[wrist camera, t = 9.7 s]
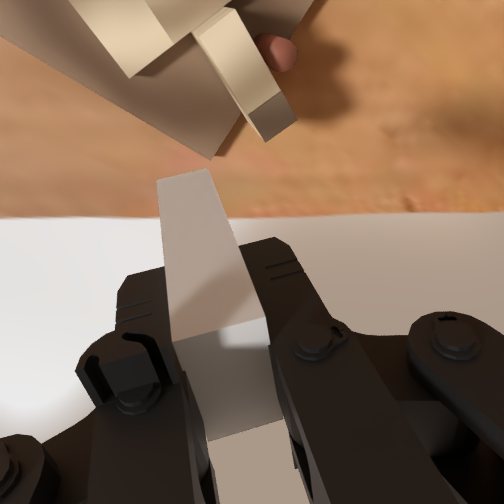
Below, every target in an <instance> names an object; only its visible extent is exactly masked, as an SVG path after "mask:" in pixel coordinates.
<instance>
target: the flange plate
mask: <svg viewBox="0 0 504 504" xmlns="http://www.w3.org/2000/svg"><path fill="white" fill-rule="evenodd" d="M230 1H231V0H69V2H70V3H71V4H72V6H73V7H74V8H75V10H76V11H77V12H78V13H79V15H80V16H81V17H82V19H83V20H84V21H85V22H86V24H87V25H88V26H89V28H90V29H91V30H92V31H93V33H94V34H95V35H96V37H97V38H98V39H99V40H100V42H101V43H102V44H103V46H104V47H105V48H106V49H107V51H108V52H109V53H110V55H111V56H112V57H113V59H114V60H115V61H116V62H117V64H118V65H119V66H120V68H121V69H122V70H123V71H124V73H125V74H126V75H127V77H128V78H129V79H130V78H131V77H132V76H134V75H135V74H136V73H137V72H139V71H140V70H141V69H143V68H144V67H145V66H147V65H148V64H149V63H150V62H152V61H153V60H154V59H156V58H157V57H158V56H160V55H161V54H162V53H163V52H165V51H166V50H167V49H169V48H170V47H171V46H173V45H174V44H175V43H176V42H178V41H179V40H180V39H182V38H183V37H184V36H186V35H187V34H188V33H189V32H191V34H192V35H193V37H194V38H195V40H196V41H197V43H198V44H199V46H200V48H201V49H202V51H203V52H204V54H205V55H206V57H207V59H208V60H209V62H210V63H211V65H212V66H213V68H214V70H215V71H216V73H217V74H218V76H219V77H220V79H221V80H222V82H223V84H224V85H225V87H226V88H227V90H228V91H229V93H230V95H231V96H232V98H233V99H234V101H235V102H236V104H237V106H238V107H239V109H240V110H241V112H242V113H243V115H244V116H245V118H246V120H247V121H248V122H249V123H250V125H251V126H252V127H253V128H254V129H255V131H256V132H257V133H258V134H259V135H260V137H261V138H262V139H263V140H264V141H265V143H266V142H267V141H269V140H270V139H271V138H273V137H274V136H276V135H277V134H279V133H280V132H281V131H283V130H284V129H286V128H287V127H288V126H290V125H291V124H293V123H294V122H295V121H297V120H298V119H297V118H296V116H295V114H294V112H293V110H292V109H291V107H290V105H289V103H288V101H287V100H286V98H285V96H284V94H283V92H282V91H281V90H280V89H279V87H278V85H277V83H276V81H275V80H274V78H273V76H272V74H271V72H270V71H269V69H268V67H267V65H266V63H265V62H264V60H263V58H262V56H261V55H260V53H259V51H258V49H257V47H256V46H255V44H254V42H253V40H252V38H251V37H250V35H249V33H248V31H247V29H246V28H245V26H244V24H243V22H242V21H241V19H240V17H239V15H238V13H237V12H236V10H235V9H233V8H227V7H223V6H225V5H226V4H227V3H228V2H230Z"/></svg>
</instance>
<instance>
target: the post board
mask: <svg viewBox="0 0 504 504" xmlns="http://www.w3.org/2000/svg"><path fill="white" fill-rule="evenodd" d="M313 1H314V0H231V1H230V2H228V3H227V4H226V5H225V6H223V7H227V8H233V9H235V10H236V12H237V13H238V15H239V17H240V19H241V21H242V22H243V24H244V26H245V28H246V29H247V31H248V33H249V35H250V37H251V38H252V40H253V42H254V44H255V46H256V47H257V49H258V51H259V53H260V55H261V56H262V58H263V60H264V62H265V63H266V65H267V67H268V69H270V68H272V69H274V70H276V71H278V72H286V71H288V70H290V69H291V68H292V67H293V66H294V64H295V62H296V60H297V49H296V47H295V45H294V44H293V42H291V41H290V40H289V38H290V37H291V35H292V34H293V32H294V31H295V29H296V27H297V26H298V24H299V23H300V21H301V20H302V18H303V17H304V15H305V13H306V12H307V10H308V9H309V7H310V6H311V4H312V3H313ZM0 36H1V37H2V38H4V39H6V40H7V41H9V42H11V43H12V44H14V45H16V46H17V47H19V48H21V49H23V50H24V51H26V52H28V53H29V54H31V55H33V56H34V57H36V58H38V59H39V60H41V61H43V62H44V63H46V64H48V65H50V66H51V67H53V68H55V69H56V70H58V71H60V72H61V73H63V74H65V75H66V76H68V77H70V78H72V79H73V80H75V81H77V82H78V83H80V84H82V85H83V86H85V87H87V88H88V89H90V90H92V91H93V92H95V93H97V94H99V95H100V96H102V97H104V98H105V99H107V100H109V101H110V102H112V103H114V104H115V105H117V106H119V107H120V108H122V109H124V110H126V111H127V112H129V113H131V114H132V115H134V116H136V117H137V118H139V119H141V120H142V121H144V122H146V123H148V124H149V125H151V126H153V127H154V128H156V129H158V130H159V131H161V132H163V133H164V134H166V135H168V136H169V137H171V138H173V139H175V140H176V141H178V142H180V143H181V144H183V145H185V146H186V147H188V148H190V149H191V150H193V151H195V152H197V153H198V154H200V155H202V156H203V157H205V158H207V159H208V160H210V161H211V159H212V158H213V156H214V155H215V153H216V152H217V150H218V148H219V147H220V145H221V144H222V142H223V141H224V139H225V138H226V136H227V134H228V133H229V131H230V130H231V128H232V127H233V125H234V124H235V122H236V120H237V119H238V117H239V116H240V114H241V113H242V112H241V110H240V109H239V107H238V106H237V104H236V102H235V101H234V99H233V98H232V96H231V95H230V93H229V91H228V90H227V88H226V87H225V85H224V84H223V82H222V80H221V79H220V77H219V76H218V74H217V73H216V71H215V70H214V68H213V66H212V65H211V63H210V62H209V60H208V59H207V57H206V55H205V54H204V52H203V51H202V49H201V48H200V46H199V44H198V43H197V41H196V40H195V38H194V37H193V35H192V34H191V32H189V33H188V34H187V35H186V36H184V37H183V38H182V39H180V40H179V41H178V42H176V43H175V44H174V45H173V46H171V47H170V48H169V49H167V50H166V51H165V52H163V53H162V54H161V55H160V56H158V57H157V58H156V59H154V60H153V61H152V62H150V63H149V64H148V65H147V66H145V67H144V68H143V69H141V70H140V71H139V72H137V73H136V74H135V75H134V76H132V77H131V78H130V79H129V78H128V77H127V75H126V74H125V73H124V71H123V70H122V69H121V68H120V66H119V65H118V64H117V62H116V61H115V60H114V59H113V57H112V56H111V55H110V53H109V52H108V51H107V49H106V48H105V47H104V46H103V44H102V43H101V42H100V40H99V39H98V38H97V37H96V35H95V34H94V33H93V31H92V30H91V29H90V28H89V26H88V25H87V24H86V22H85V21H84V20H83V19H82V17H81V16H80V15H79V13H78V12H77V11H76V10H75V8H74V7H73V6H72V4H71V3H70V2H69V0H0Z"/></svg>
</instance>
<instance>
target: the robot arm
mask: <svg viewBox="0 0 504 504" xmlns="http://www.w3.org/2000/svg"><path fill="white" fill-rule="evenodd" d="M156 181H157V192H158V202H159V212H160V222H161V233H162V242H163V254H164V264H165V266H164V267H160V268H156V269H152V270H148V271H144V272H140V273H136V274H132V275H128V276H127V277H126V279H125V280H124V282H123V284H122V285H121V287H120V289H119V290H118V293H117V306H116V308H117V311H116V324H115V331H112V332H110V333H107V334H105V335H104V336H103V337H101V338H100V339H98V340H97V341H95V342H94V343H92V344H91V345H90V347H89V348H88V349H87V350H86V351H85V352H84V354H83V355H82V356H81V357H80V359H79V362H78V364H77V367H76V370H75V372H76V374H77V376H78V377H79V379H80V381H81V382H82V384H83V386H84V388H85V389H86V391H87V393H88V395H89V396H90V398H91V399H92V401H93V403H94V405H95V406H96V408H95V409H94V410H93V411H92V412H91V413H90V414H89V415H88V416H86V417H85V418H84V419H82V420H81V421H79V422H78V423H76V424H75V425H73V426H72V427H70V428H68V429H66V430H65V431H63V432H61V433H59V434H58V435H56V436H54V437H52V438H51V439H49V440H47V441H46V442H44V443H42V444H41V443H40V442H39V441H37V440H36V439H35V438H34V437H32V436H29V435H21V434H15V435H11V436H7V437H3V438H0V504H220V502H219V496H218V490H217V484H216V478H215V471H214V469H213V466H212V463H211V461H210V458H209V454H208V448H207V442H206V437H207V439H208V441H212V440H216V439H219V438H222V437H225V436H229V435H232V434H235V433H239V432H242V431H245V430H249V429H252V428H255V427H259V426H262V425H265V424H268V423H272V422H275V421H278V420H282V419H283V416H284V419H285V422H286V425H287V428H288V431H289V437H290V443H291V448H292V455H293V460H294V466H295V469H297V468H298V469H299V472H300V475H301V478H302V481H303V484H304V487H305V490H306V493H307V496H308V499H309V502H310V504H504V335H503V334H501V333H500V332H498V331H497V330H495V329H494V328H492V327H491V326H489V325H487V324H486V323H484V322H482V321H480V320H478V319H476V318H474V317H472V316H469V315H466V314H461V313H457V312H451V311H449V312H434V313H430V314H427V315H424V316H421V317H420V318H419V319H418V320H417V321H415V322H414V323H413V324H412V325H411V328H410V331H409V334H408V335H394V336H391V335H390V336H375V335H365V334H360V333H356V332H353V331H351V330H350V329H349V328H348V327H347V326H346V325H345V324H344V323H342V322H340V321H338V320H336V319H334V318H332V316H331V315H330V314H329V312H328V310H327V309H326V307H325V305H324V304H323V302H322V300H321V298H320V297H319V295H318V293H317V292H316V290H315V288H314V287H313V285H312V283H311V281H310V280H309V278H308V276H307V275H306V273H304V270H303V268H302V266H301V264H300V263H299V262H298V260H297V258H296V256H295V254H294V252H293V251H292V249H291V247H290V246H289V245H287V244H286V243H284V242H283V241H281V240H279V239H278V238H276V237H272V238H268V239H264V240H260V241H256V242H252V243H248V244H244V245H240V246H238V244H237V242H236V239H235V237H234V234H233V231H232V229H231V226H230V224H229V221H228V219H227V216H226V213H225V211H224V208H223V206H222V203H221V201H220V198H219V195H218V193H217V190H216V188H215V185H214V182H213V180H212V177H211V175H210V172H209V170H208V168H205V169H201V170H197V171H192V172H188V173H184V174H179V175H175V176H171V177H166V178H162V179H158V180H156ZM205 434H206V435H205Z"/></svg>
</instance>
